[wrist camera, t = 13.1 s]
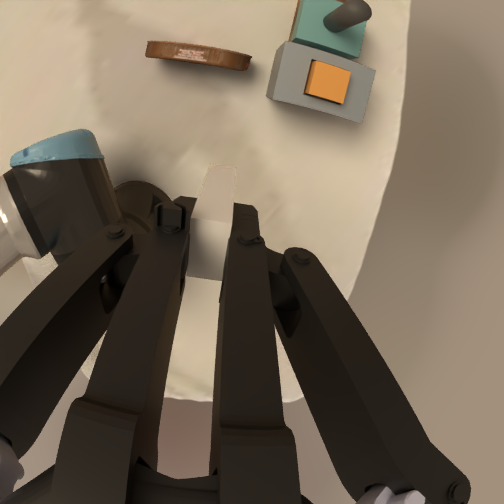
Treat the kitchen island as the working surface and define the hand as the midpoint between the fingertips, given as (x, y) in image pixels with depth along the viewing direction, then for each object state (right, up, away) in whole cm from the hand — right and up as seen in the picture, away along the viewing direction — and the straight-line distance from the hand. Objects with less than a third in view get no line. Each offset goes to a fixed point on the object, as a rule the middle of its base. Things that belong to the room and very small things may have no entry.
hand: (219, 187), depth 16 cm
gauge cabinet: (+11, +23, +20) cm, 32 cm away
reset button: (+11, +18, +13) cm, 25 cm away
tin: (-6, +26, +18) cm, 32 cm away
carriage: (+13, +29, +13) cm, 34 cm away
